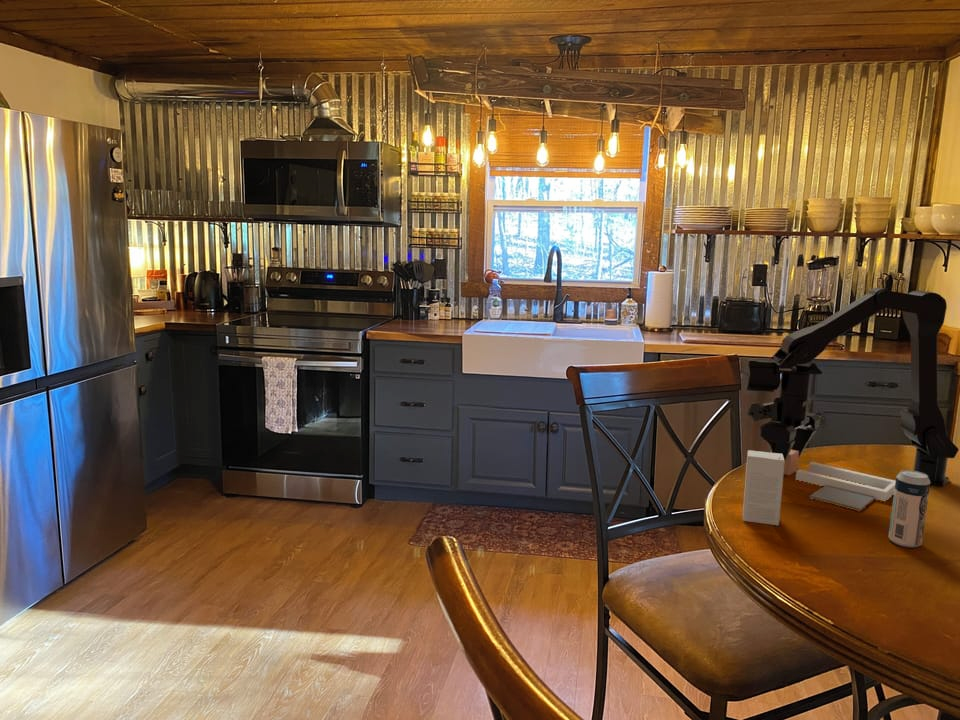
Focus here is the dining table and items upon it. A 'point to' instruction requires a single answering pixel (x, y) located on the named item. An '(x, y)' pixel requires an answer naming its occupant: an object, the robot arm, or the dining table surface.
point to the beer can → (909, 508)
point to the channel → (872, 487)
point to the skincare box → (763, 487)
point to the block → (791, 462)
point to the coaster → (842, 497)
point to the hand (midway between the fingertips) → (786, 464)
